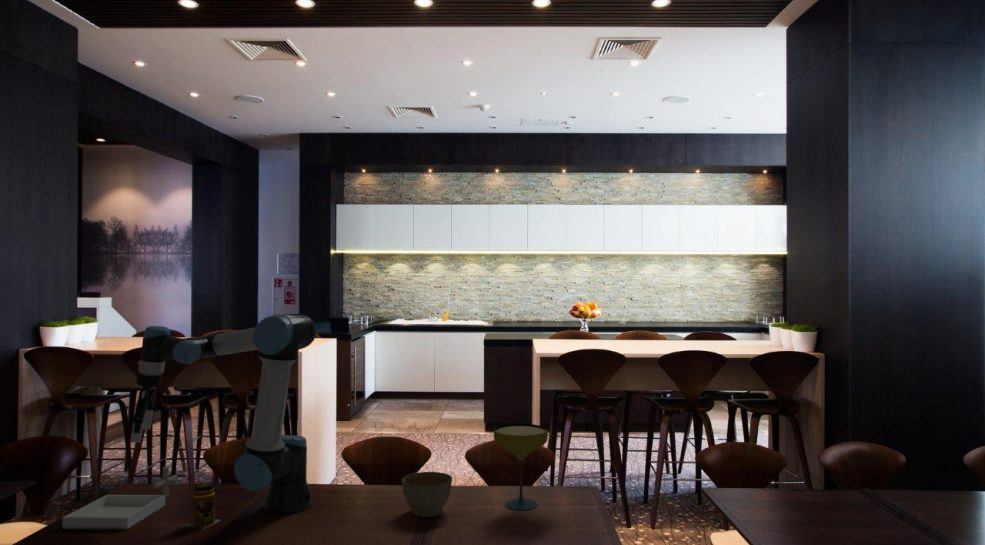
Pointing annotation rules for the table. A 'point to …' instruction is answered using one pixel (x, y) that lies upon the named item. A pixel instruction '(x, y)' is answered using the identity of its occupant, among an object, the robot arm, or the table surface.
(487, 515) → the table surface
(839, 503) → the table surface
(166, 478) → the pipe connector
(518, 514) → the table surface
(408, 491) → the planter bowl
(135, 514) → the tray
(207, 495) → the condiment
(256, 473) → the robot arm
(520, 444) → the cocktail glass
